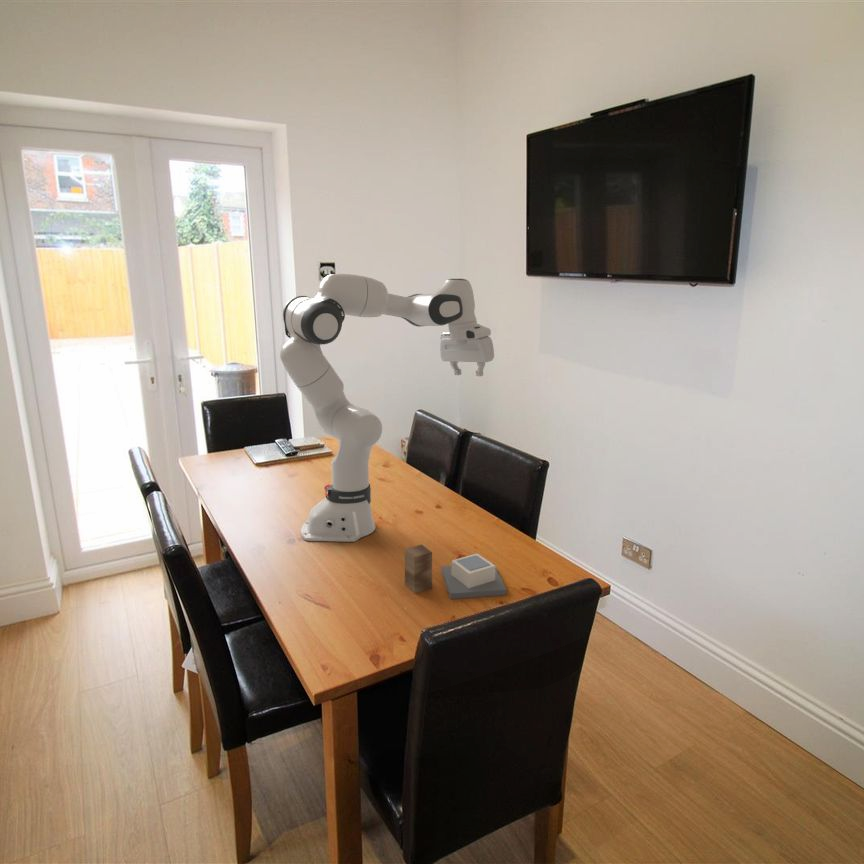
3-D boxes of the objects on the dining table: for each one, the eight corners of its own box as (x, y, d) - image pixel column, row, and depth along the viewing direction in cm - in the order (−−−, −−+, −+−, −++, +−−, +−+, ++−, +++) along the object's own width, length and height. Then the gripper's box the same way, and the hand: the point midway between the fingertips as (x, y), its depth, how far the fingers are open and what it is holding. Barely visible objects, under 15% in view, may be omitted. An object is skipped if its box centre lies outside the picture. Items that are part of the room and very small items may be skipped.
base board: (450, 599, 149) (450, 577, 148) (441, 571, 163) (441, 551, 161) (506, 594, 151) (507, 573, 150) (493, 568, 164) (493, 548, 163)
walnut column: (414, 593, 152) (414, 556, 149) (404, 585, 156) (404, 548, 153) (432, 588, 154) (432, 552, 152) (422, 580, 158) (421, 544, 156)
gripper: (433, 333, 196) (438, 376, 199) (480, 333, 181) (486, 378, 185) (447, 330, 200) (452, 372, 203) (494, 329, 185) (499, 374, 189)
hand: (468, 375), depth 194 cm, fingers open, 8 cm apart
